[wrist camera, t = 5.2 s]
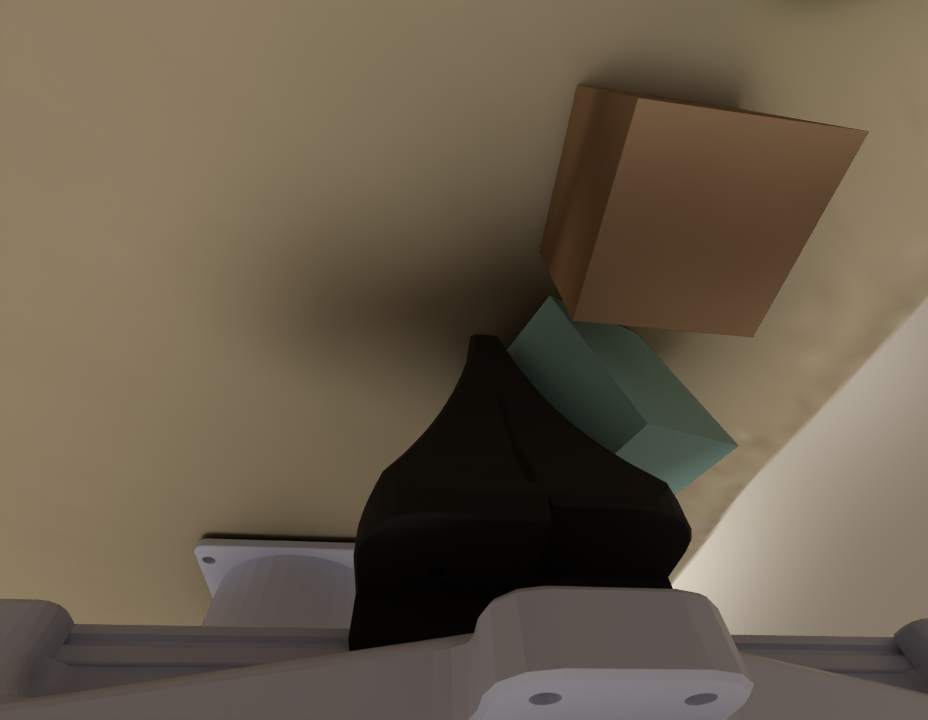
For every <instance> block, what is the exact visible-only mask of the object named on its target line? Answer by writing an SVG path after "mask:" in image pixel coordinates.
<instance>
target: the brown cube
mask: <svg viewBox="0 0 928 720" xmlns="http://www.w3.org/2000/svg"><path fill="white" fill-rule="evenodd" d="M868 132H869V131H863V130H857V129H852V128H846V127H840V126H834V125H829V124H823V123H817V122H812V121H806V120H800V119H794V118H789V117H783V116H777V115H771V114H766V113H760V112H754V111H749V110H743V109H737V108H730V107H723V106H716V105H709V104H702V103H695V102H689V101H682V100H675V99H668V98H661V97H654V96H648V95H641V94H634V93H627V92H620V91H613V90H606V89H600V88H593V87H586V86H579V85H577V88H576V93H575V97H574V102H573V106H572V110H571V115H570V119H569V124H568V128H567V133H566V137H565V141H564V146H563V150H562V155H561V159H560V164H559V168H558V172H557V177H556V181H555V186H554V190H553V195H552V199H551V203H550V208H549V212H548V217H547V221H546V226H545V230H544V234H543V239H542V243H541V248H540V254H541V256H542V258H543V260H544V262H545V264H546V267H547V269H548V271H549V273H550V275H551V277H552V279H553V281H554V283H555V285H556V287H557V289H558V291H559V293H560V295H561V297H562V299H563V302H564V304H565V306H566V308H567V310H568V312H569V314H570V316H571V318H572V320H573V321H582V322H593V323H603V324H614V325H625V326H636V327H646V328H657V329H668V330H679V331H690V332H700V333H711V334H722V335H733V336H744V337H753V336H754V334H755V332H756V331H757V329H758V327H759V325H760V324H761V322H762V320H763V318H764V316H765V315H766V313H767V311H768V309H769V308H770V306H771V304H772V302H773V301H774V299H775V297H776V295H777V293H778V292H779V290H780V288H781V286H782V285H783V283H784V281H785V279H786V277H787V276H788V274H789V272H790V270H791V269H792V267H793V265H794V263H795V262H796V260H797V258H798V256H799V254H800V253H801V251H802V249H803V247H804V246H805V244H806V242H807V240H808V238H809V237H810V235H811V233H812V231H813V230H814V228H815V226H816V224H817V223H818V221H819V219H820V217H821V215H822V214H823V212H824V210H825V208H826V207H827V205H828V203H829V201H830V200H831V198H832V196H833V194H834V192H835V191H836V189H837V187H838V185H839V184H840V182H841V180H842V178H843V176H844V175H845V173H846V171H847V169H848V168H849V166H850V164H851V162H852V161H853V159H854V157H855V155H856V153H857V152H858V150H859V148H860V146H861V145H862V143H863V141H864V139H865V137H866V136H867V134H868Z"/></svg>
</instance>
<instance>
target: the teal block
mask: <svg viewBox="0 0 928 720" xmlns="http://www.w3.org/2000/svg"><path fill="white" fill-rule="evenodd" d="M507 352H508V353H509V354H510V356H511V357H512V359H513V360H514V362H515V363H516V364H517V366H518V367H519V368H520V370H521V371H522V372H523V373H524V375H525V376H526V377H527V378H528V380H529V381H530V382H531V383H532V385H533V386H534V387H535V388H536V389H537V390H538V391H539V392H540V394H541V395H542V396H543V397H544V398H545V399H546V400H547V401H548V402H549V403H550V404H551V405H552V406H553V407H554V408H555V409H556V410H558V411H559V412H560V413H561V414H562V415H563V416H564V417H565V418H566V419H568V420H569V421H570V422H571V423H572V424H574V425H575V426H576V427H577V428H579V429H580V430H581V431H583V432H584V433H585V434H587V435H588V436H589V437H590V438H592V439H593V440H595V441H596V442H597V443H599V444H600V445H602V446H603V447H605V448H606V449H608V450H609V451H611V452H613V453H614V454H616V455H617V456H619V457H621V458H622V459H624V460H625V461H627V462H629V463H631V464H632V465H634V466H636V467H638V468H640V469H642V470H644V471H646V472H647V473H649V474H651V475H653V476H655V477H657V478H659V479H661V480H663V481H664V482H666V483H667V484H668V485H669V487H670V489H671V490H672V492H673V494H674V495H675V494H677V493H678V492H679V491H681V490H682V489H683V488H684V487H686V486H687V485H688V484H690V483H691V482H692V481H694V480H695V479H696V478H697V477H699V476H700V475H701V474H703V473H704V472H705V471H706V470H708V469H709V468H710V467H712V466H713V465H714V464H716V463H717V462H718V461H719V460H721V459H722V458H723V457H725V456H726V455H727V454H729V453H730V452H731V451H732V450H734V449H735V448H736V447H738V445H737V443H736V442H735V441H734V440H733V439H732V438H731V437H730V436H729V435H728V434H727V432H726V431H725V430H724V429H723V428H722V427H721V426H720V425H719V424H718V422H717V421H716V420H715V419H714V418H713V417H712V416H711V415H710V414H709V413H708V411H707V410H706V409H705V408H704V407H703V406H702V405H701V404H700V403H699V402H698V400H697V399H696V398H695V397H694V396H693V395H692V394H691V393H690V392H689V390H688V389H687V388H686V387H685V386H684V385H683V384H682V383H681V382H680V381H679V379H678V378H677V377H676V376H675V375H674V374H673V373H672V372H671V371H670V369H669V368H668V367H667V366H666V365H665V364H664V363H663V362H662V361H661V360H660V358H659V357H658V356H657V355H656V354H655V353H654V352H653V351H652V350H651V349H650V347H649V346H648V345H647V344H646V343H645V342H644V341H643V340H642V339H641V337H640V336H639V335H638V334H636V333H634V332H633V331H631V330H628V329H626V328H624V327H622V326H619V325H614V324H603V323H593V322H582V321H573V320H572V318H571V316H570V314H569V312H568V310H567V308H566V306H565V304H564V302H563V301H562V300H559V299H557V298H555V297H552V296H549V297H548V298H547V300H546V301H545V302H544V303H543V305H542V306H541V307H540V308H539V310H538V311H537V312H536V314H535V315H534V316H533V317H532V319H531V320H530V321H529V322H528V324H527V325H526V326H525V328H524V329H523V330H522V331H521V333H520V334H519V335H518V337H517V338H516V339H515V340H514V342H513V343H512V344H511V345H510V347H509V348H508V349H507Z"/></svg>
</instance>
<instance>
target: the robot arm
mask: <svg viewBox="0 0 928 720" xmlns="http://www.w3.org/2000/svg"><path fill="white" fill-rule="evenodd" d="M690 541H691V527H690V525H689V523H688V521H687V519H686V517H685V515H684V513H683V511H682V509H681V507H680V504H679V502H678V500H677V499H676V497H675V495H674V494H673V492H672V490H671V489H670V487H669V485H668V484H667V483H666V482H664V481H663V480H661V479H659V478H657V477H655V476H653V475H651V474H649V473H647V472H646V471H644V470H642V469H640V468H638V467H636V466H634V465H632V464H631V463H629V462H627V461H625V460H624V459H622V458H621V457H619V456H617V455H616V454H614V453H613V452H611V451H609V450H608V449H606V448H605V447H603V446H602V445H600V444H599V443H597V442H596V441H595V440H593V439H592V438H590V437H589V436H588V435H587V434H585V433H584V432H583V431H581V430H580V429H579V428H577V427H576V426H575V425H574V424H572V423H571V422H570V421H569V420H568V419H566V418H565V417H564V416H563V415H562V414H561V413H560V412H559V411H558V410H556V409H555V408H554V407H553V406H552V405H551V404H550V403H549V402H548V401H547V400H546V399H545V398H544V397H543V396H542V395H541V394H540V392H539V391H538V390H537V389H536V388H535V387H534V386H533V385H532V383H531V382H530V381H529V380H528V378H527V377H526V376H525V375H524V373H523V372H522V371H521V370H520V368H519V367H518V366H517V364H516V363H515V362H514V360H513V359H512V357H511V356H510V354H509V353H508V352H507V350H506V349H505V347H504V346H503V344H502V343H501V341H500V340H499V338H498V337H497V336H491V335H478V334H474V335H473V336H471V337H470V341H469V349H468V356H467V362H466V365H465V367H464V370H463V373H462V375H461V377H460V379H459V381H458V383H457V385H456V387H455V389H454V391H453V393H452V395H451V396H450V398H449V400H448V401H447V403H446V404H445V406H444V407H443V409H442V410H441V412H440V413H439V415H438V416H437V417H436V419H435V420H434V421H433V423H432V424H431V425H430V426H429V428H428V429H427V430H426V431H425V432H424V433H423V435H422V436H421V437H420V438H419V439H418V440H417V441H416V442H415V443H414V444H413V445H412V446H411V447H410V448H409V449H408V450H407V451H406V452H405V453H404V454H403V455H402V456H400V457H399V458H398V459H397V460H396V461H395V462H393V463H392V464H391V465H390V466H389V467H387V468H386V469H385V470H384V471H383V472H382V474H381V476H380V478H379V479H378V481H377V483H376V485H375V487H374V489H373V491H372V493H371V495H370V497H369V499H368V501H367V503H366V506H365V508H364V511H363V513H362V516H361V519H360V522H359V526H358V530H357V536H356V543H341V542H308V541H275V540H242V539H209V538H208V539H202V540H200V541H199V542H198V543H197V545H196V547H195V549H194V553H195V555H196V558H197V560H198V563H199V565H200V568H201V570H202V573H203V576H204V578H205V581H206V583H207V586H208V588H209V591H210V593H211V596H212V598H213V600H212V603H211V605H210V607H209V610H208V612H207V614H206V617H205V619H204V621H203V624H202V626H162V625H100V624H74V622H73V620H72V618H71V616H70V614H69V613H68V611H67V610H66V609H64V608H63V607H62V606H60V605H59V604H56V603H53V602H50V601H44V600H30V599H0V720H928V618H926V619H920V620H917V621H913V622H911V623H909V624H907V625H905V626H904V627H902V628H901V629H900V630H899V631H897V632H896V633H895V634H894V637H836V636H834V637H833V636H831V637H830V636H776V635H774V636H773V635H730V633H729V631H728V629H727V627H726V624H725V622H724V620H723V618H722V616H721V614H720V612H719V610H718V608H717V607H716V606H715V605H714V604H713V603H712V602H711V601H710V600H709V599H708V598H707V597H705V596H703V595H701V594H699V593H694V592H688V591H683V590H678V589H673V588H672V586H671V583H670V581H669V578H668V577H669V575H670V574H671V572H672V571H673V569H674V568H675V566H676V565H677V563H678V562H679V561H680V559H681V558H682V556H683V555H684V553H685V552H686V550H687V548H688V546H689V543H690Z"/></svg>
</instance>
